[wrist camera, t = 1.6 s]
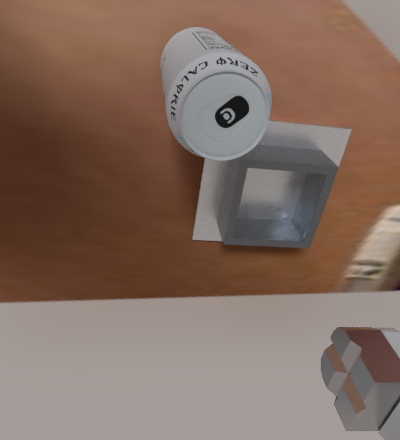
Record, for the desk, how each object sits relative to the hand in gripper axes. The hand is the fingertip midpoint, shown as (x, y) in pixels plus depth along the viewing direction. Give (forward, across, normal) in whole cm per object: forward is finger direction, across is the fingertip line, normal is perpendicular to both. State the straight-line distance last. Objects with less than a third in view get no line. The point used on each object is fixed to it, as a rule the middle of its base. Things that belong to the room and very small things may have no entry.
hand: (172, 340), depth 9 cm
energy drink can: (+28, -3, -2) cm, 29 cm away
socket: (+29, -12, +9) cm, 33 cm away
